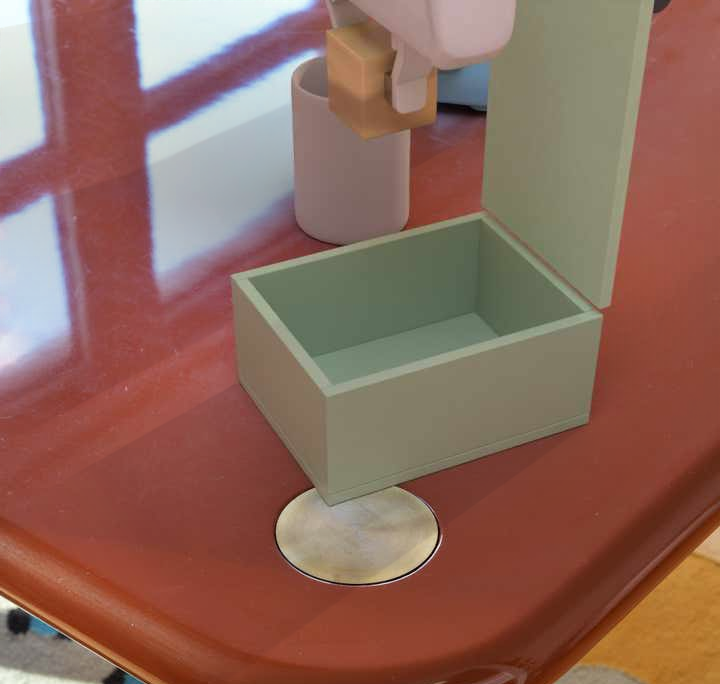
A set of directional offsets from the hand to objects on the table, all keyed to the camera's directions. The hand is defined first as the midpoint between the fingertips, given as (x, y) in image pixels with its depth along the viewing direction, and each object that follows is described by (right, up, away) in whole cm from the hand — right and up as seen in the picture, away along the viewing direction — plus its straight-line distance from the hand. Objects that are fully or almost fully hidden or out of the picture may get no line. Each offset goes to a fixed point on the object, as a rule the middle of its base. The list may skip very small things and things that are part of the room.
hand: (380, 86), depth 73 cm
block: (0, -1, +1) cm, 2 cm away
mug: (-2, +1, +30) cm, 31 cm away
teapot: (+7, +14, +45) cm, 48 cm away
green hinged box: (+2, -16, +12) cm, 20 cm away
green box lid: (+10, 0, +3) cm, 10 cm away
